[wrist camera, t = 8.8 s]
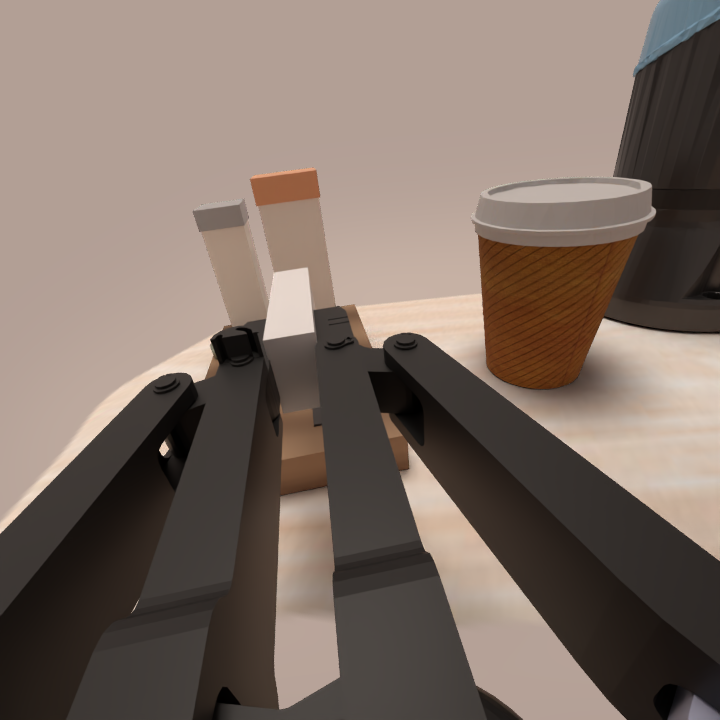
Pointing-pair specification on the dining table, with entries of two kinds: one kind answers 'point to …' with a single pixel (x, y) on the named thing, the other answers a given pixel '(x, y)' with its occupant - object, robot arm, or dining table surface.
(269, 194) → the orange topped beige block
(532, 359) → the disposable coffee cup
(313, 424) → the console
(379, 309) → the dining table surface
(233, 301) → the grey topped white block
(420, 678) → the robot arm
